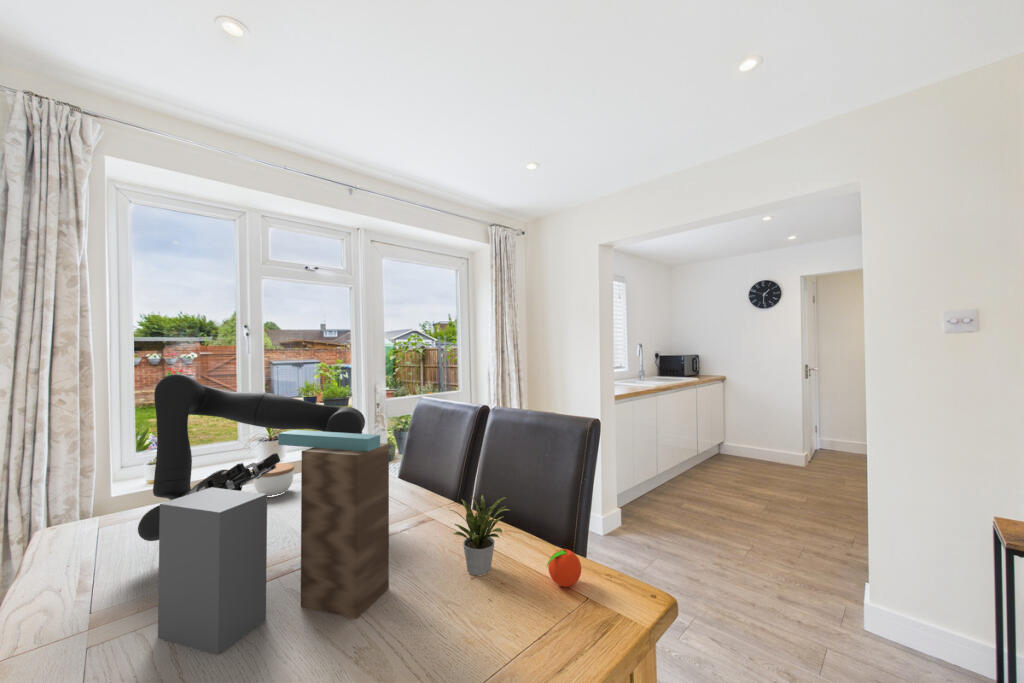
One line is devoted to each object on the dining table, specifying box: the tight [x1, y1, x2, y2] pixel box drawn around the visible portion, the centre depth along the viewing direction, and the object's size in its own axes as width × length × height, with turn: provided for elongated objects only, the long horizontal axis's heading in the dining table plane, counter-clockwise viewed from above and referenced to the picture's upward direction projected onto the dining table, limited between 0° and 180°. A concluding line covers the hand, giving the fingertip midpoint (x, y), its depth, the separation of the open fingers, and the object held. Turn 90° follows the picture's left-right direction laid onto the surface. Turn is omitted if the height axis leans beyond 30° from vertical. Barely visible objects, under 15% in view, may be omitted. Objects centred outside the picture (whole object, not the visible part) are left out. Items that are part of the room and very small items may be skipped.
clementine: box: [546, 548, 582, 588], centre depth 85 cm, size 8×7×7 cm
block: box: [277, 429, 381, 451], centre depth 84 cm, size 22×4×2 cm, turn 73°
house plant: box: [449, 494, 510, 576], centre depth 92 cm, size 14×14×16 cm
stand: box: [300, 442, 390, 620], centre depth 82 cm, size 13×10×30 cm
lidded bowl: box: [252, 462, 295, 496], centre depth 142 cm, size 13×13×11 cm
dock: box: [157, 487, 268, 656], centre depth 73 cm, size 14×9×23 cm, turn 73°
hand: (261, 461), depth 89 cm, fingers open, 8 cm apart
